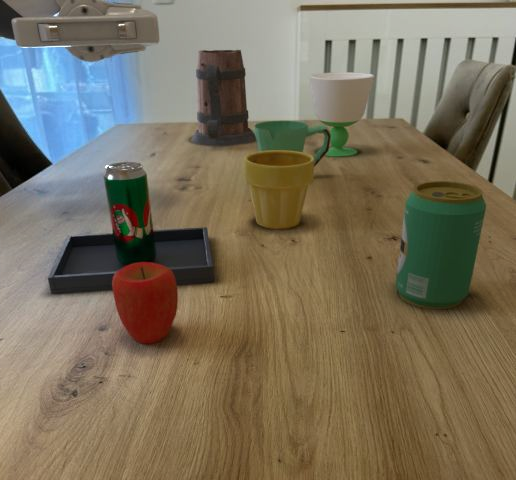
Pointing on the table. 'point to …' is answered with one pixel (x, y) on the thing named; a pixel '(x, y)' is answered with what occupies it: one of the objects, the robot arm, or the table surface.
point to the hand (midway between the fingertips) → (88, 32)
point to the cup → (340, 104)
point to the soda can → (130, 212)
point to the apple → (146, 300)
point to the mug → (289, 136)
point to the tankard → (221, 99)
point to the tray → (106, 265)
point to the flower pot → (278, 185)
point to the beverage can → (439, 243)
